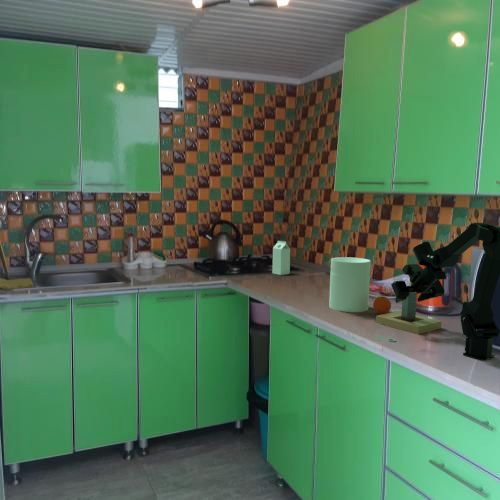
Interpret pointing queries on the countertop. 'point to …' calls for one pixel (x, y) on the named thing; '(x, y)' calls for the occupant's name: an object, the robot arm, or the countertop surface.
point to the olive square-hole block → (409, 323)
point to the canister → (349, 284)
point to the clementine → (382, 305)
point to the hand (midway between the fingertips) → (407, 301)
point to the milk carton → (281, 258)
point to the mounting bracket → (385, 338)
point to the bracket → (409, 308)
